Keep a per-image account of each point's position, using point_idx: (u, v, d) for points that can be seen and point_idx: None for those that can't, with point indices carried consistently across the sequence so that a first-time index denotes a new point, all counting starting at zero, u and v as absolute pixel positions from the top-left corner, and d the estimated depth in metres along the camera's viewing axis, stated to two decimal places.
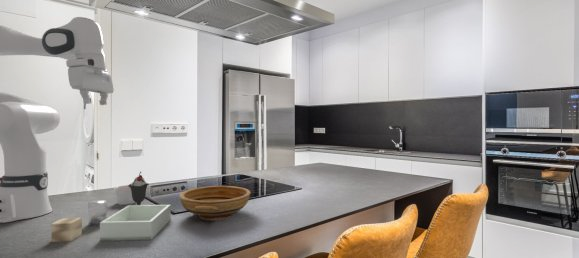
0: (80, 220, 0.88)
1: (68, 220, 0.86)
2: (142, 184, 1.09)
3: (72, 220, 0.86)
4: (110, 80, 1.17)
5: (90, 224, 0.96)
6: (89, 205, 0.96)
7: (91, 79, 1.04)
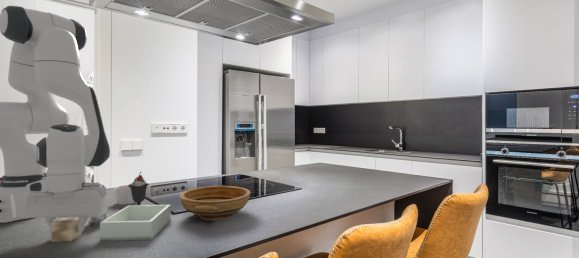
0: None
1: (68, 220, 0.86)
2: (142, 184, 1.09)
3: (72, 220, 0.86)
4: (93, 200, 0.85)
5: (90, 224, 0.96)
6: None
7: (46, 205, 0.84)
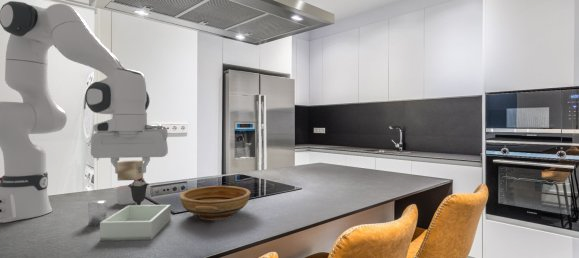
0: (142, 162, 0.91)
1: (131, 161, 0.89)
2: (142, 184, 1.09)
3: (135, 161, 0.89)
4: (157, 140, 0.88)
5: (90, 224, 0.96)
6: (89, 205, 0.96)
7: (112, 146, 0.87)
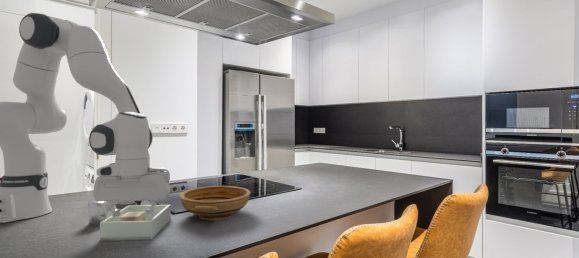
0: (144, 214, 0.91)
1: (134, 214, 0.90)
2: None
3: (137, 214, 0.90)
4: (159, 184, 0.88)
5: (90, 224, 0.96)
6: (89, 205, 0.96)
7: (114, 189, 0.87)
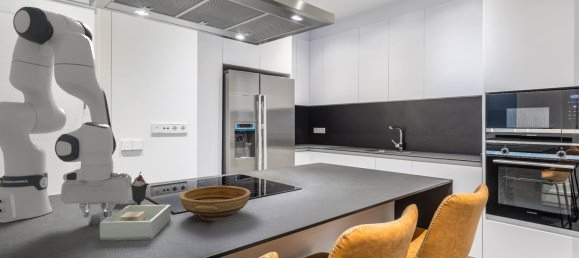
0: (144, 214, 0.91)
1: (134, 214, 0.90)
2: (142, 184, 1.09)
3: (137, 214, 0.90)
4: (121, 188, 0.97)
5: (90, 224, 0.96)
6: (89, 205, 0.96)
7: (80, 193, 0.96)
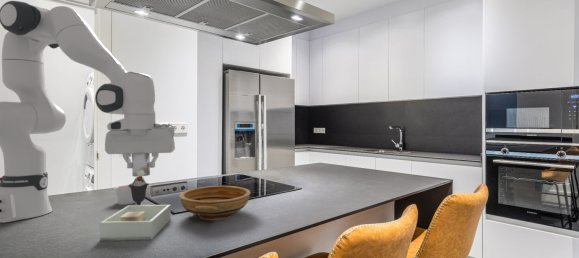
0: (144, 214, 0.91)
1: (134, 214, 0.90)
2: (142, 184, 1.09)
3: (137, 214, 0.90)
4: (165, 137, 0.96)
5: (135, 174, 0.95)
6: (133, 155, 0.95)
7: (124, 143, 0.95)
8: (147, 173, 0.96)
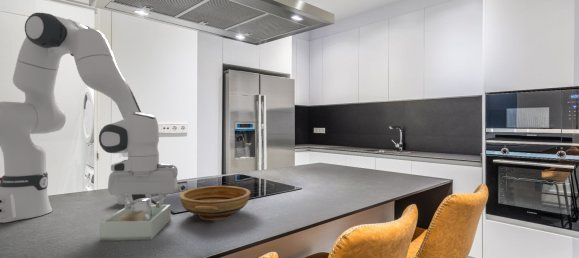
0: (144, 214, 0.91)
1: (134, 214, 0.90)
2: None
3: (137, 214, 0.90)
4: (168, 179, 0.96)
5: None
6: (135, 203, 0.95)
7: (127, 183, 0.95)
8: (149, 220, 0.97)
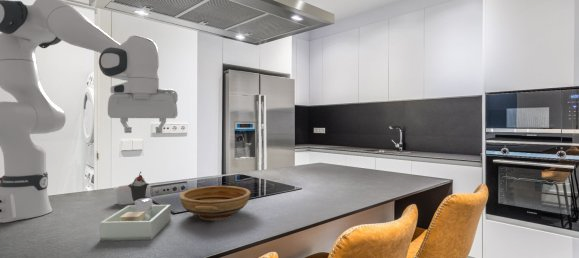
0: (144, 214, 0.91)
1: (134, 214, 0.90)
2: (142, 184, 1.09)
3: (137, 214, 0.90)
4: (168, 103, 0.96)
5: None
6: (136, 203, 0.95)
7: (127, 107, 0.95)
8: None
